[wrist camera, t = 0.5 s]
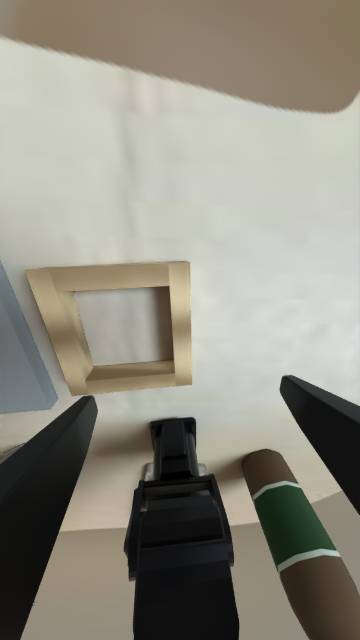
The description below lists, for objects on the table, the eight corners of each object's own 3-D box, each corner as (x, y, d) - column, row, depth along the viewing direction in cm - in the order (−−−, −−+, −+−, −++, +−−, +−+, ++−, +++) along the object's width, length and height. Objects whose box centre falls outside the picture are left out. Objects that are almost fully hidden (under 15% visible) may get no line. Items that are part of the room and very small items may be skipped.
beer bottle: (288, 461, 31) (602, 992, 9) (251, 479, 32) (444, 982, 10) (270, 441, 28) (660, 1138, 6) (231, 462, 29) (433, 1098, 7)
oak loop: (189, 370, 21) (192, 384, 19) (81, 380, 20) (71, 396, 18) (186, 261, 16) (190, 262, 14) (44, 267, 15) (24, 270, 13)
